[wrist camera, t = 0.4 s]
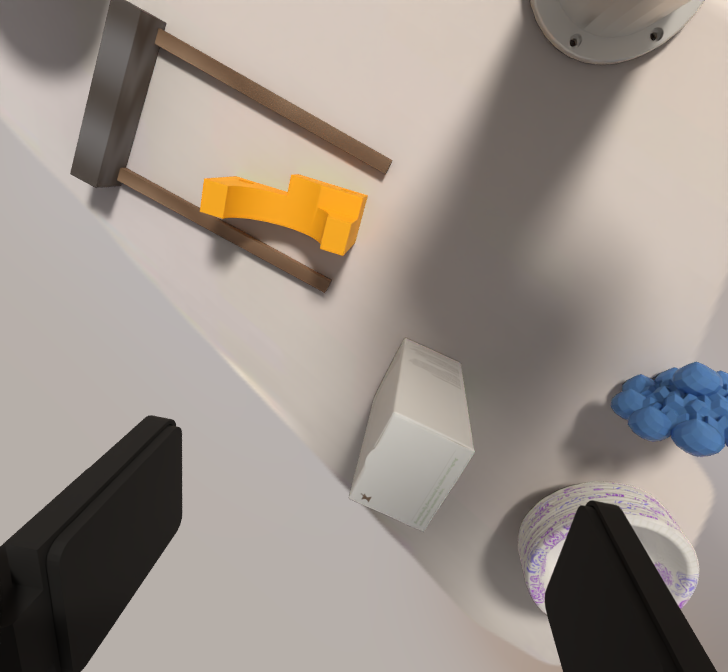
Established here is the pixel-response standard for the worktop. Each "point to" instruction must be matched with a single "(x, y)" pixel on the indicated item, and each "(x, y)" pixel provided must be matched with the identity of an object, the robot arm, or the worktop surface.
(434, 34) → the worktop surface
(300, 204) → the pipe clamp
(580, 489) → the paper bowls
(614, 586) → the robot arm
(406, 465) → the skincare box
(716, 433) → the grapes
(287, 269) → the rail
